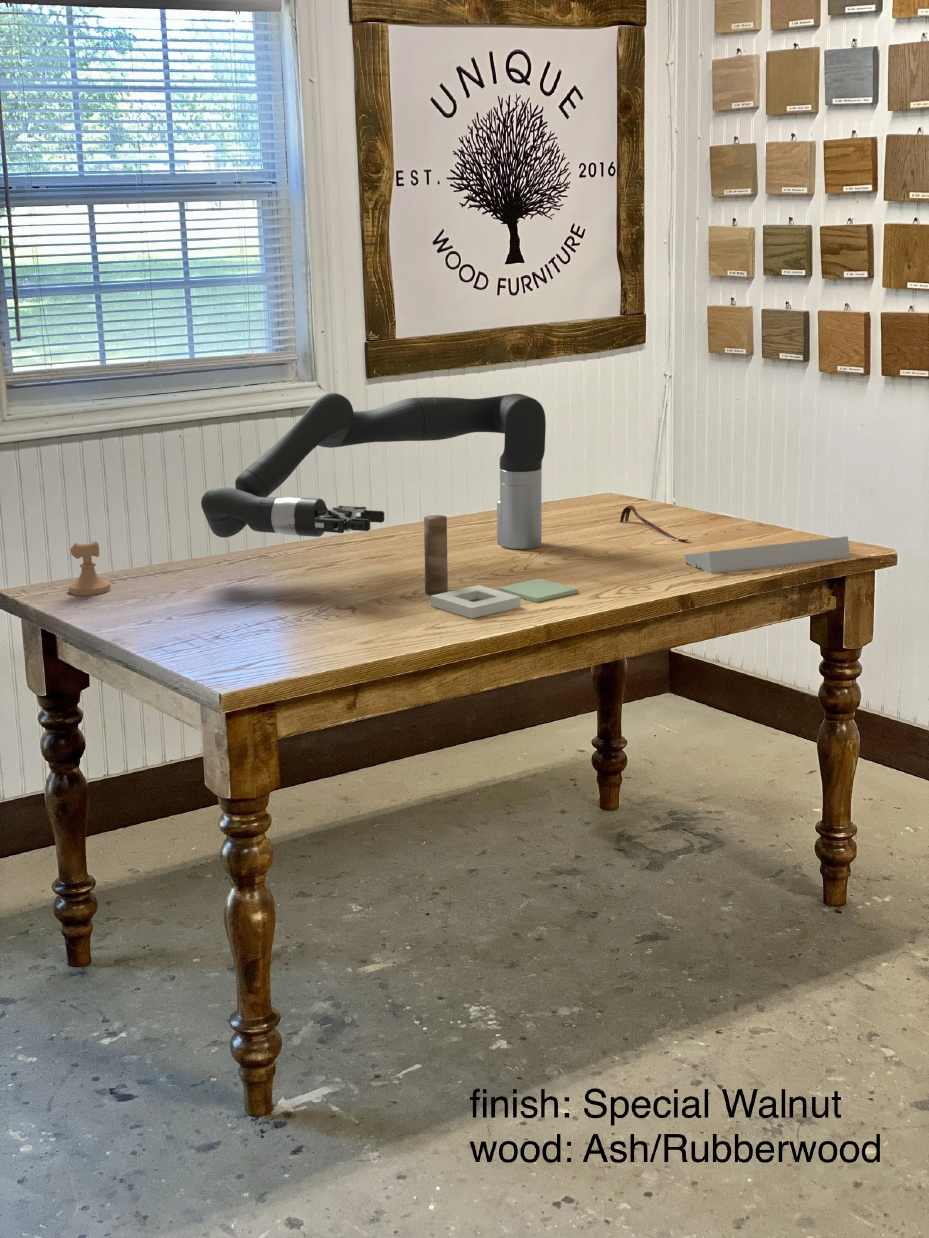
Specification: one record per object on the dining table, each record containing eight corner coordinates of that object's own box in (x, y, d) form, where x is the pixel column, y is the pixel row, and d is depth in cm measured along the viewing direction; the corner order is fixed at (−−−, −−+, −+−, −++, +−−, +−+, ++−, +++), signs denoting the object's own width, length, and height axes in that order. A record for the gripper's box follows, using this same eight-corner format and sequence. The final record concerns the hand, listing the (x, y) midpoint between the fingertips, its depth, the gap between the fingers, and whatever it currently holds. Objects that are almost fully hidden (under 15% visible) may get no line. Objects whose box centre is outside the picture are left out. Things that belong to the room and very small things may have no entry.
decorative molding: (686, 577, 305) (711, 575, 296) (684, 555, 305) (708, 551, 296) (822, 561, 318) (850, 558, 308) (820, 539, 318) (847, 536, 308)
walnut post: (420, 592, 284) (419, 517, 280) (438, 588, 287) (437, 514, 283) (434, 596, 281) (433, 520, 277) (452, 592, 284) (451, 517, 280)
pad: (498, 591, 284) (498, 587, 284) (539, 582, 291) (539, 578, 291) (536, 602, 276) (536, 598, 276) (578, 592, 283) (578, 588, 283)
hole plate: (430, 605, 275) (430, 595, 274) (479, 595, 282) (479, 585, 281) (471, 618, 266) (471, 608, 265) (520, 607, 273) (520, 596, 272)
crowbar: (619, 523, 346) (621, 503, 344) (627, 522, 347) (629, 502, 345) (680, 559, 325) (682, 538, 323) (688, 558, 326) (691, 537, 324)
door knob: (109, 544, 284) (68, 548, 281) (113, 592, 287) (72, 597, 284) (102, 536, 291) (62, 540, 288) (106, 583, 294) (66, 588, 291)
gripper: (312, 528, 295) (388, 532, 290) (286, 542, 281) (365, 547, 277) (311, 491, 293) (388, 495, 289) (284, 504, 279) (364, 508, 275)
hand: (376, 521), depth 283 cm, fingers open, 8 cm apart
